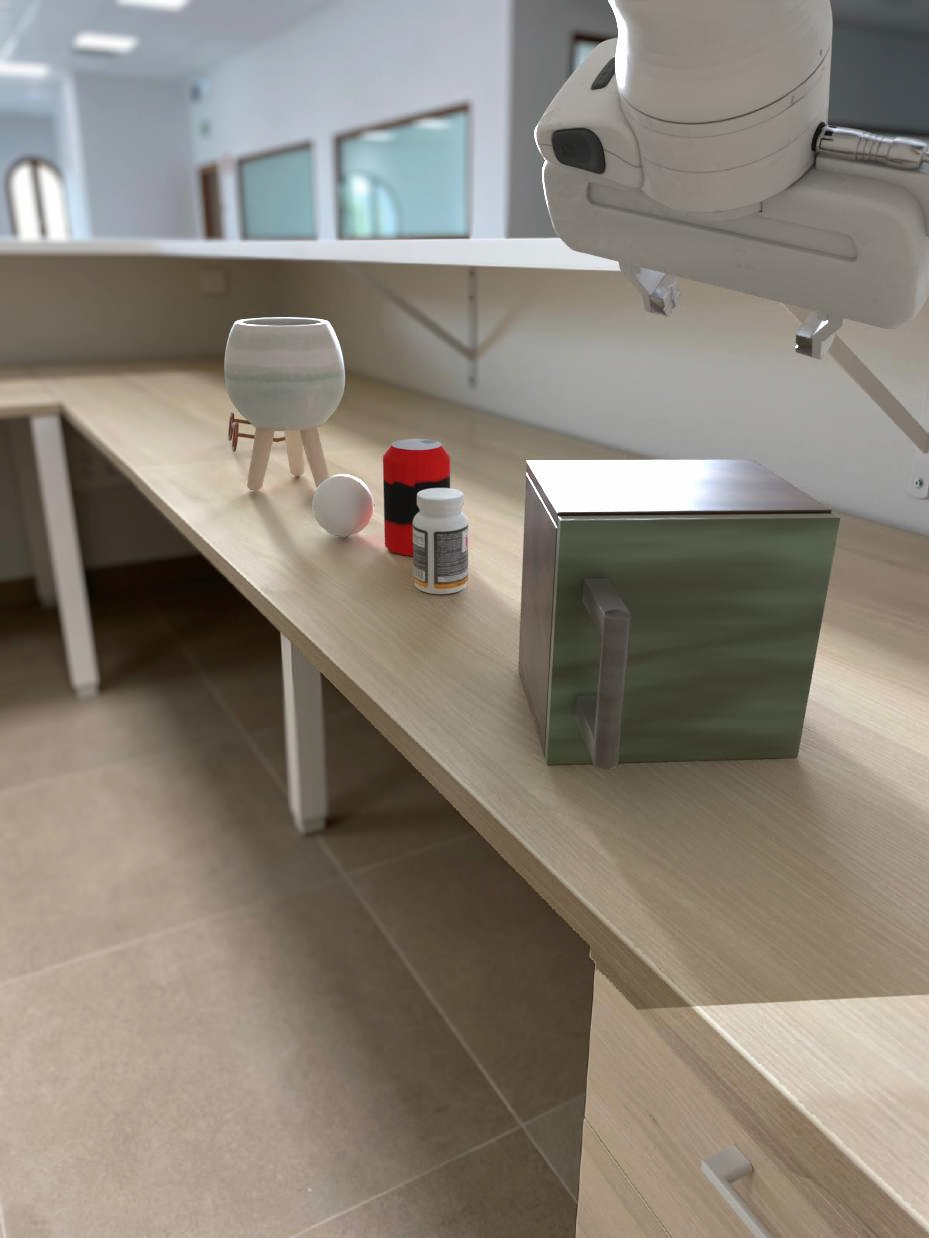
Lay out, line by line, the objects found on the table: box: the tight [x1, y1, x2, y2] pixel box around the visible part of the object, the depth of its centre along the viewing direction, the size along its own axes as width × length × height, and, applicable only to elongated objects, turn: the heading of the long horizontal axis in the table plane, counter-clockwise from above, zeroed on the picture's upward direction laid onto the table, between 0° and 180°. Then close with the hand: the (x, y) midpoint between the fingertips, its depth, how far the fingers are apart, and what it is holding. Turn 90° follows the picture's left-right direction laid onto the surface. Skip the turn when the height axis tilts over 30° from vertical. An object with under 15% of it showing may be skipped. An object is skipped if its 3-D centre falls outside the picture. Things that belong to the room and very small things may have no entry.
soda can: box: [382, 438, 451, 557], centre depth 106 cm, size 8×8×12 cm
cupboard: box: [517, 459, 833, 757], centre depth 69 cm, size 14×18×18 cm
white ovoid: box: [311, 473, 376, 537], centre depth 112 cm, size 10×7×7 cm
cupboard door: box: [544, 512, 841, 770], centre depth 59 cm, size 8×18×18 cm, turn 94°
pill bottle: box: [412, 487, 469, 595], centre depth 94 cm, size 6×6×10 cm
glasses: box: [227, 411, 286, 453], centre depth 155 cm, size 13×13×5 cm
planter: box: [223, 316, 346, 492], centre depth 128 cm, size 16×16×22 cm
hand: (735, 326), depth 54 cm, fingers open, 8 cm apart
